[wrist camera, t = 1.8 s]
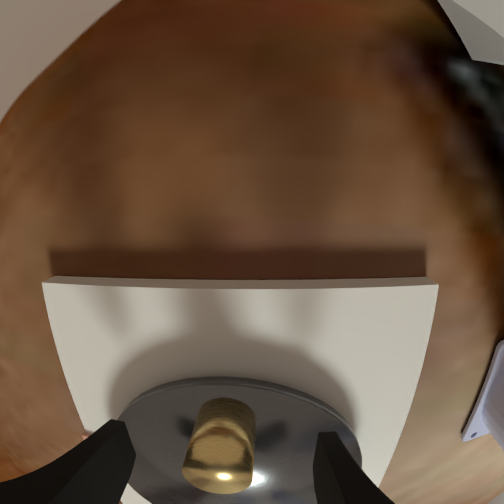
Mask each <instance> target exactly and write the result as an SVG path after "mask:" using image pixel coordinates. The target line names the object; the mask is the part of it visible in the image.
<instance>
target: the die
mask: <svg viewBox="0 0 504 504" xmlns="http://www.w3.org/2000/svg"><path fill="white" fill-rule="evenodd" d="M437 1H438V2H439V3H440V5H441V6H442V8H443V10H444V11H445V13H446V14H447V16H448V17H449V19H450V21H451V22H452V24H453V26H454V27H455V29H456V31H457V32H458V34H459V36H460V38H461V39H462V41H463V43H464V45H465V47H466V49H467V51H468V52H469V54H470V56H471V58H472V60H478V61H484V62H490V63H495V64H501V65H504V0H437Z"/></svg>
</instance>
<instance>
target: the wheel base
mask: <svg viewBox="0 0 504 504" xmlns="http://www.w3.org/2000/svg"><path fill="white" fill-rule="evenodd" d="M42 287H43V292H44V298H45V302H46V307H47V312H48V316H49V321H50V325H51V329H52V333H53V337H54V340H55V344H56V348H57V351H58V355H59V358H60V362H61V365H62V368H63V371H64V374H65V377H66V380H67V383H68V386H69V389H70V392H71V395H72V397H73V400H74V403H75V406H76V408H77V411H78V413H79V416H80V418H81V421H82V423H83V426H84V428H85V430H86V433H85V432H84V433H83V435H82V436H83V438H84V440H85V439H86V438H87V437H89V436H90V435H91V434H93V433H94V432H95V431H96V430H98V429H99V428H100V427H101V426H103V425H104V424H105V423H106V422H108V421H109V420H110V419H114V420H118V418H119V416H120V414H121V413H122V411H123V409H124V408H125V407H126V406H127V405H128V404H129V403H130V402H131V401H132V400H133V399H134V398H136V397H137V396H139V395H140V394H141V393H143V392H145V391H147V390H149V389H151V388H153V387H156V386H159V385H162V384H165V383H168V382H172V381H177V380H182V379H186V378H197V377H215V376H228V377H240V378H250V379H256V380H262V381H269V382H273V383H276V384H280V385H284V386H288V387H291V388H294V389H296V390H299V391H302V392H305V393H307V394H309V395H311V396H313V397H315V398H317V399H320V400H322V401H323V402H325V403H326V404H328V405H329V406H331V407H332V408H334V409H335V410H336V411H337V412H338V413H339V414H341V415H342V416H343V417H344V418H345V419H346V421H347V422H348V423H349V424H350V426H351V427H352V429H353V431H354V433H355V435H356V437H357V440H358V443H359V447H360V450H361V455H362V470H363V471H364V472H365V474H366V475H367V476H368V477H369V478H370V479H371V481H372V482H373V483H374V484H375V485H376V486H377V487H379V485H380V483H381V480H382V478H383V476H384V474H385V472H386V469H387V467H388V465H389V462H390V460H391V458H392V455H393V453H394V450H395V448H396V445H397V443H398V440H399V438H400V435H401V432H402V429H403V427H404V424H405V421H406V418H407V415H408V412H409V409H410V406H411V403H412V400H413V397H414V394H415V390H416V387H417V383H418V380H419V376H420V373H421V369H422V365H423V361H424V357H425V353H426V349H427V345H428V340H429V336H430V331H431V326H432V321H433V316H434V311H435V305H436V299H437V293H438V287H439V284H437V283H436V282H434V281H433V280H431V279H430V278H428V277H404V278H369V279H317V280H189V279H136V278H101V277H74V276H54V277H52V278H50V279H48V280H46V281H44V282H42ZM120 500H121V501H122V503H123V504H152V503H150V502H149V501H147V500H146V499H144V498H143V497H142V496H141V495H139V494H138V493H137V492H136V491H135V490H134V489H133V488H132V487H131V486H130V485H129V484H128V483H127V486H126V488H125V490H124V492H123V495H122V497H121V499H120Z"/></svg>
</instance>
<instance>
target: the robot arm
mask: <svg viewBox="0 0 504 504" xmlns="http://www.w3.org/2000/svg"><path fill="white" fill-rule="evenodd" d="M488 433H491V434H492V435H493V437H494V438H495V440H496V441H497V442H498V444H499V445H500V446H501V448H502V449H503V451H504V340H502V341H500V342H499V343H498V345H497V347H496V350H495V353H494V356H493V359H492V362H491V365H490V368H489V371H488V374H487V376H486V379H485V382H484V385H483V387H482V390H481V392H480V395H479V397H478V400H477V402H476V405H475V407H474V409H473V411H472V414H471V416H470V418H469V420H468V423H467V425H466V427H465V429H464V431H463V433H462V435H461V439H462V441H464V442H465V441H469V440H471V439H474V438H477V437H480V436H483V435H485V434H488ZM135 459H136V453H135V450H134V447H133V444H132V442H131V439H130V436H129V433H128V430H127V427H126V424H125V422H124V421H119V420H114V419H110V420H109V421H108V422H106V423H105V424H104V425H103V426H101V427H100V428H99V429H98V430H96V431H95V432H94V433H93V434H91V435H90V436H89V437H87V438H86V439H85V440H83V441H82V442H81V443H79V444H78V445H77V446H75V447H74V448H73V449H71V450H70V451H68V452H67V453H65V454H64V455H62V456H61V457H59V458H58V459H56V460H54V461H53V462H51V463H49V464H47V465H46V466H44V467H42V468H40V469H38V470H35V471H33V472H31V473H28V474H26V475H23V476H20V477H18V478H15V479H12V480H8V481H5V482H0V504H119V501H120V499H121V497H122V495H123V492H124V490H125V488H126V486H127V483H128V481H129V479H130V476H131V473H132V470H133V466H134V463H135ZM313 479H314V489H315V494H316V499H317V504H395V503H394V502H393V501H391V500H390V499H389V498H388V497H387V496H386V495H385V494H384V493H383V492H382V491H381V490H380V489H379V488H378V487H377V486H376V485H375V484H374V483H373V482H372V481H371V479H370V478H369V477H368V476H367V475H366V474H365V472H364V471H363V470H362V469H361V467H360V466H359V465H358V463H357V462H356V461H355V459H354V458H353V457H352V455H351V454H350V452H349V451H348V449H347V448H346V446H345V445H344V443H343V442H342V440H341V438H340V437H339V435H338V433H337V432H335V431H332V432H319V433H318V438H317V444H316V450H315V455H314V460H313Z"/></svg>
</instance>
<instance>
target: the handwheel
mask: <svg viewBox="0 0 504 504" xmlns="http://www.w3.org/2000/svg"><path fill="white" fill-rule="evenodd" d="M118 420H119V421H124V422H125V424H126V427H127V430H128V433H129V436H130V439H131V442H132V444H133V447H134V450H135V453H136V459H135V463H134V466H133V470H132V473H131V476H130V479H129V481H128V484H129V485H130V486H131V487H132V488H133V489H134V490H135V491H136V492H137V493H138V494H139V495H141V496H142V497H143V498H144V499H146V500H147V501H149V502H150V503H152V504H317V499H316V494H315V489H314V479H313V460H314V455H315V450H316V444H317V438H318V433H319V432H332V431H335V432H337V433H338V435H339V437H340V438H341V440H342V442H343V443H344V445H345V446H346V448H347V449H348V451H349V452H350V454H351V455H352V457H353V458H354V459H355V461H356V462H357V463H358V465H359V466H360V467H361V469H362V455H361V450H360V447H359V443H358V440H357V437H356V435H355V433H354V431H353V429H352V427H351V426H350V424H349V423H348V422H347V421H346V419H345V418H344V417H343V416H342V415H341V414H339V413H338V412H337V411H336V410H335V409H334V408H332V407H331V406H329V405H328V404H326V403H325V402H323V401H322V400H320V399H317V398H315V397H313V396H311V395H309V394H307V393H305V392H302V391H299V390H296V389H294V388H291V387H288V386H284V385H280V384H276V383H273V382H269V381H262V380H256V379H250V378H240V377H228V376H215V377H197V378H186V379H182V380H177V381H172V382H168V383H165V384H162V385H159V386H156V387H153V388H151V389H149V390H147V391H145V392H143V393H141V394H140V395H139V396H137V397H136V398H134V399H133V400H132V401H131V402H130V403H129V404H128V405H127V406H126V407H125V408H124V409H123V411H122V413H121V414H120V416H119V418H118Z"/></svg>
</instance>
